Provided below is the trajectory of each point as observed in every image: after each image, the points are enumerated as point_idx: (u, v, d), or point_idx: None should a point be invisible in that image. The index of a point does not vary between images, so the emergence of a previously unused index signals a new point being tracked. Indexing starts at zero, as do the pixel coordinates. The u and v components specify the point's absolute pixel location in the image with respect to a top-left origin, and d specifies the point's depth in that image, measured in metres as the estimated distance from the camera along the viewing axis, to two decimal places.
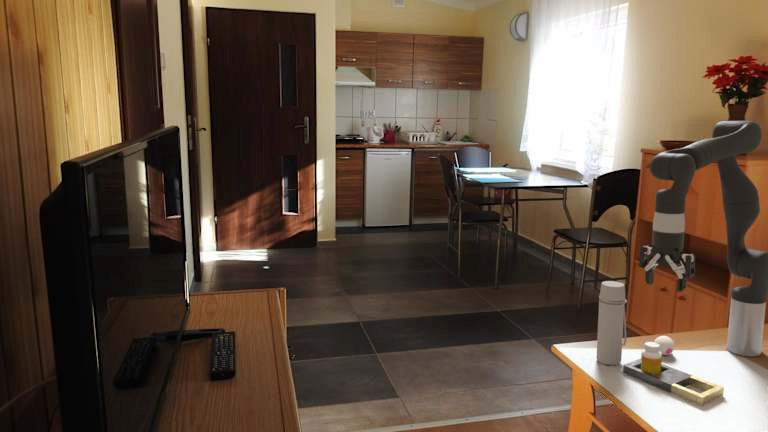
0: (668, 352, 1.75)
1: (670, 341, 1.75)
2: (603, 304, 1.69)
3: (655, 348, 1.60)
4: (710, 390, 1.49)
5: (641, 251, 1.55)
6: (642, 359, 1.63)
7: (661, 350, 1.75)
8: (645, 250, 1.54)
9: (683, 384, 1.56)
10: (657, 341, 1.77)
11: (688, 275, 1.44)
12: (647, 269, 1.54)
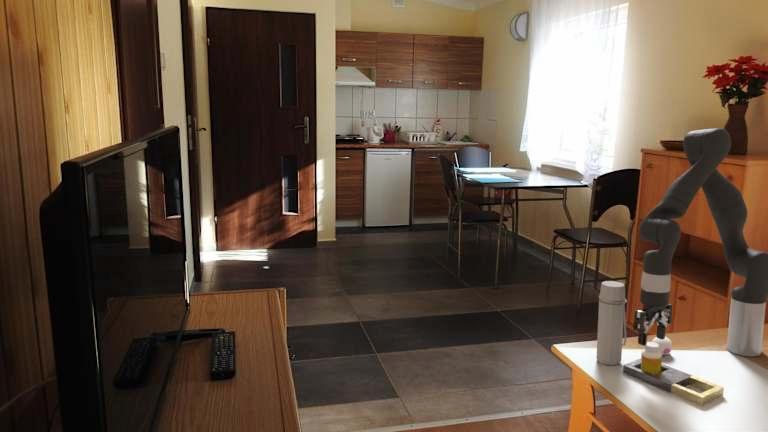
0: (666, 352, 1.75)
1: (668, 341, 1.76)
2: (603, 304, 1.69)
3: (655, 348, 1.60)
4: (710, 390, 1.49)
5: (643, 317, 1.56)
6: (642, 359, 1.63)
7: (659, 350, 1.75)
8: None
9: (683, 384, 1.56)
10: (655, 341, 1.77)
11: (670, 321, 1.63)
12: (646, 331, 1.58)
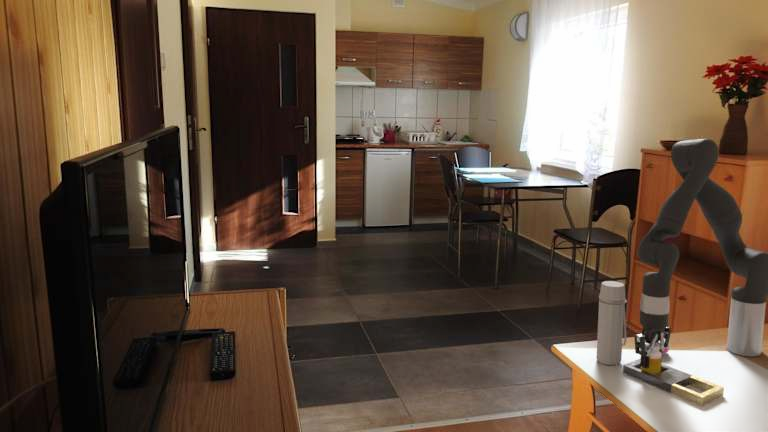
0: (663, 352, 1.75)
1: None
2: (603, 304, 1.69)
3: (655, 348, 1.60)
4: (710, 390, 1.49)
5: (642, 341, 1.57)
6: None
7: None
8: None
9: (683, 384, 1.56)
10: None
11: (667, 345, 1.64)
12: (648, 354, 1.60)
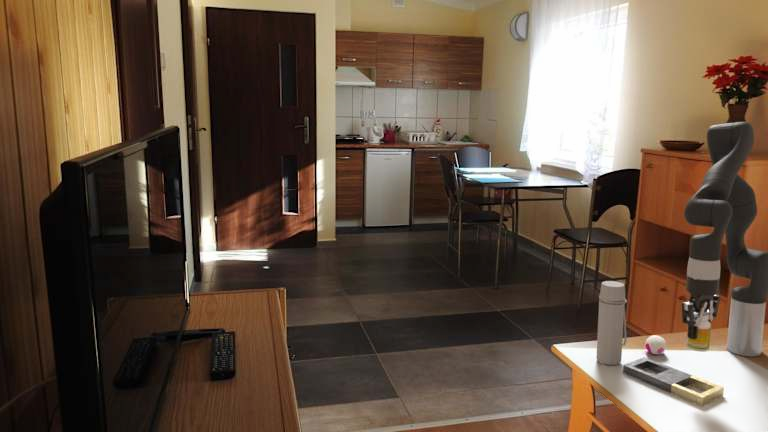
0: (660, 351, 1.75)
1: (662, 340, 1.76)
2: (603, 304, 1.69)
3: (704, 317, 1.47)
4: (710, 390, 1.49)
5: (691, 309, 1.44)
6: None
7: (653, 349, 1.76)
8: None
9: (683, 384, 1.56)
10: (649, 340, 1.78)
11: (716, 314, 1.51)
12: (697, 324, 1.46)
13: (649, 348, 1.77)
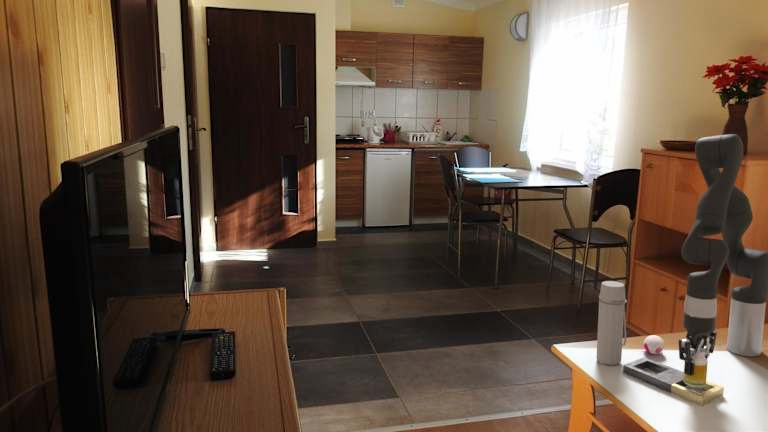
0: (658, 351, 1.75)
1: (660, 340, 1.76)
2: (603, 304, 1.69)
3: (701, 354, 1.49)
4: (710, 390, 1.49)
5: (688, 347, 1.46)
6: None
7: (651, 349, 1.76)
8: None
9: (683, 384, 1.56)
10: (647, 340, 1.78)
11: (712, 350, 1.52)
12: (693, 360, 1.48)
13: (647, 348, 1.77)
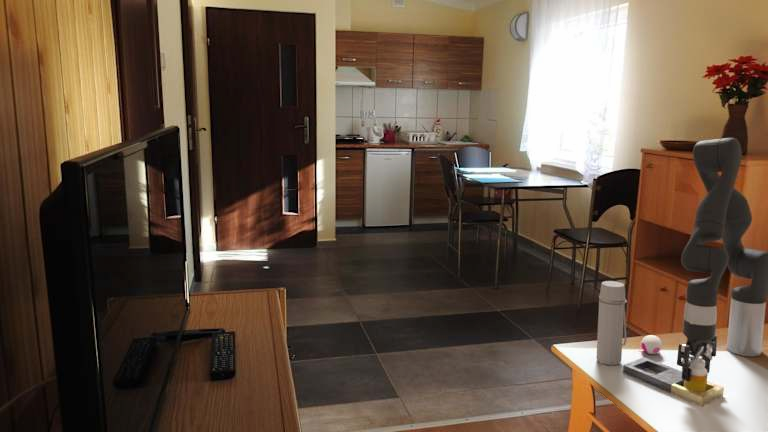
0: (655, 351, 1.76)
1: (657, 340, 1.76)
2: (603, 304, 1.69)
3: (700, 364, 1.49)
4: (710, 390, 1.49)
5: (687, 351, 1.46)
6: None
7: (648, 349, 1.76)
8: None
9: (683, 384, 1.56)
10: (645, 340, 1.78)
11: (715, 354, 1.53)
12: None
13: (645, 348, 1.77)
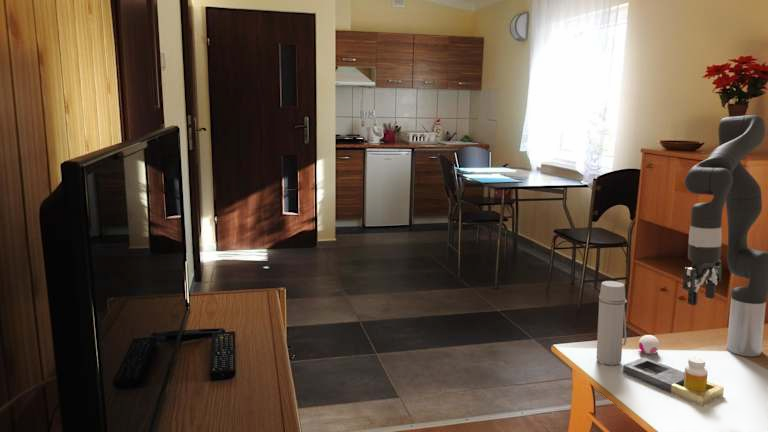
0: (653, 351, 1.76)
1: (655, 340, 1.77)
2: (603, 304, 1.69)
3: (700, 364, 1.49)
4: (710, 390, 1.49)
5: (693, 274, 1.45)
6: (686, 376, 1.52)
7: (646, 349, 1.76)
8: None
9: (683, 384, 1.56)
10: (642, 340, 1.78)
11: (720, 279, 1.53)
12: None
13: (642, 347, 1.77)
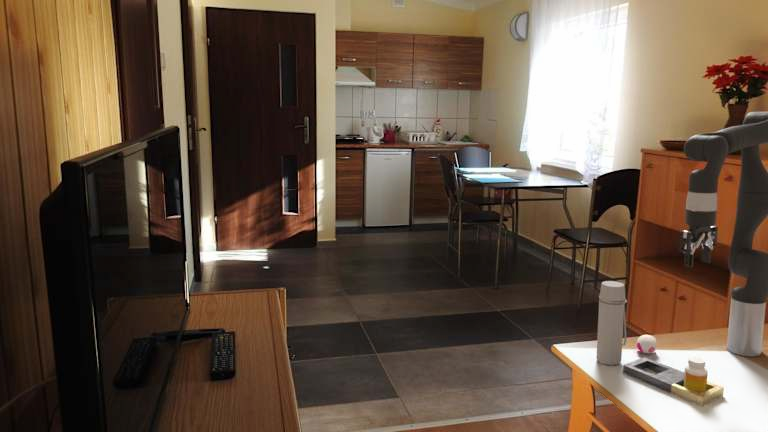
0: (651, 351, 1.76)
1: (653, 340, 1.77)
2: (603, 304, 1.69)
3: (700, 364, 1.49)
4: (710, 390, 1.49)
5: (689, 237, 1.52)
6: (686, 376, 1.52)
7: (644, 349, 1.76)
8: None
9: (683, 384, 1.56)
10: (640, 340, 1.78)
11: (716, 244, 1.60)
12: (693, 252, 1.54)
13: (640, 347, 1.77)
